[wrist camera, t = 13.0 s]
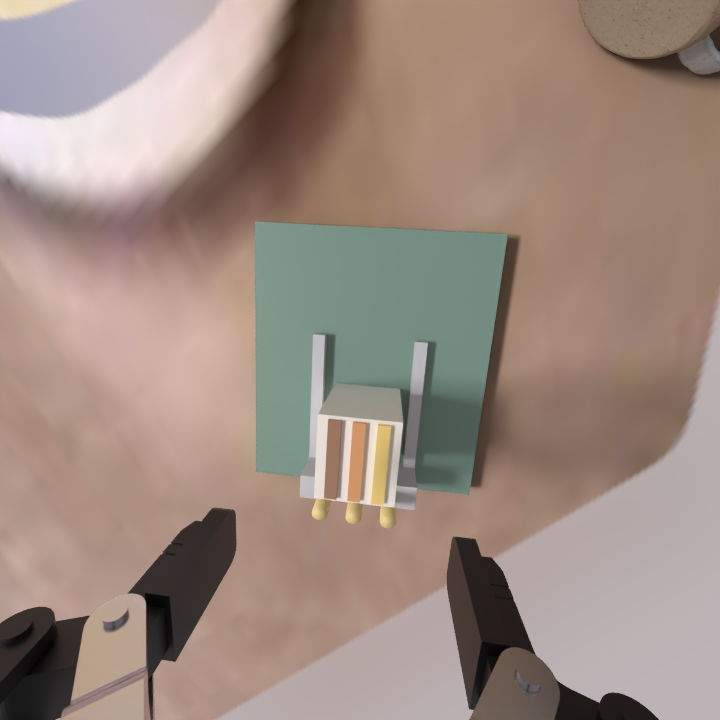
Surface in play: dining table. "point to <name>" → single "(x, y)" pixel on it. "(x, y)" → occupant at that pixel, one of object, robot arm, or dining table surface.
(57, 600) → the dining table surface
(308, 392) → the header board
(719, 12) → the ceramic mug
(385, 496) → the plug block
